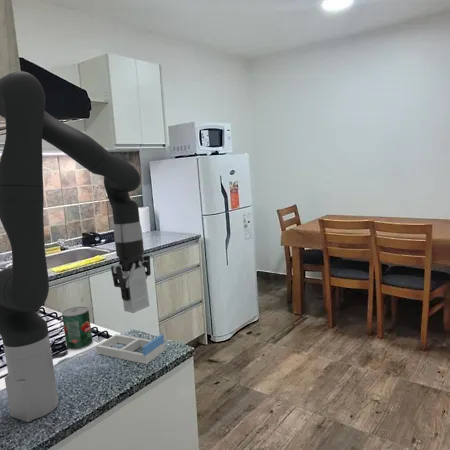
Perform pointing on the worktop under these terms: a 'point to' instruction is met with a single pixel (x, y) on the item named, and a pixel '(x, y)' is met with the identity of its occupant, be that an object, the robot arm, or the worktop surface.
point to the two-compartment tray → (132, 348)
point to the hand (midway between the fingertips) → (135, 295)
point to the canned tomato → (77, 327)
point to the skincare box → (136, 291)
